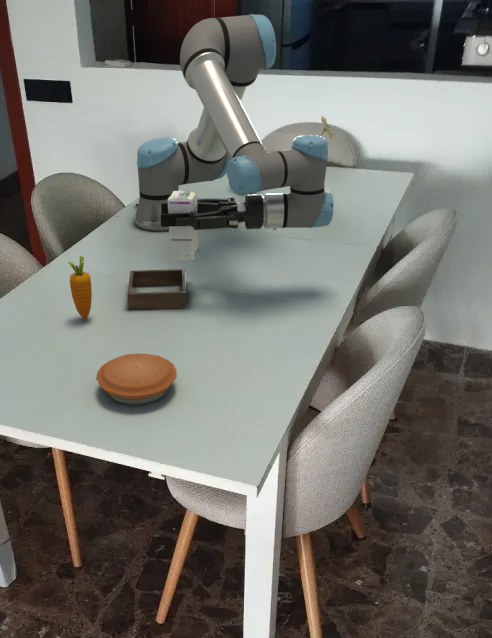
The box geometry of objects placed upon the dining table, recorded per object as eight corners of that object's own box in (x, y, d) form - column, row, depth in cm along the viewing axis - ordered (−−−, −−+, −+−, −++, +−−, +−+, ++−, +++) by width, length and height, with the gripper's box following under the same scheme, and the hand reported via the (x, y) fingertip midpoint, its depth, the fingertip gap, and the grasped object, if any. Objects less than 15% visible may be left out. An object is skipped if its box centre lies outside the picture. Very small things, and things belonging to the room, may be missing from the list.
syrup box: (194, 261, 162) (193, 198, 153) (169, 260, 163) (167, 197, 154) (199, 252, 166) (198, 190, 158) (174, 250, 167) (172, 189, 159)
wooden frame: (131, 285, 176) (130, 270, 174) (185, 283, 176) (185, 268, 174) (128, 310, 165) (127, 294, 163) (186, 308, 165) (185, 292, 163)
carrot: (78, 326, 159) (70, 264, 150) (71, 317, 163) (63, 256, 154) (99, 321, 161) (92, 259, 152) (91, 312, 165) (84, 252, 156)
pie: (94, 413, 131) (92, 390, 128) (101, 370, 143) (99, 348, 140) (177, 411, 131) (176, 388, 128) (176, 367, 143) (176, 346, 140)
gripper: (266, 243, 153) (161, 246, 153) (258, 213, 169) (162, 216, 169) (268, 209, 148) (159, 213, 149) (259, 181, 164) (161, 185, 165)
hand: (161, 214), depth 159 cm, fingers closed on syrup box, 6 cm apart
